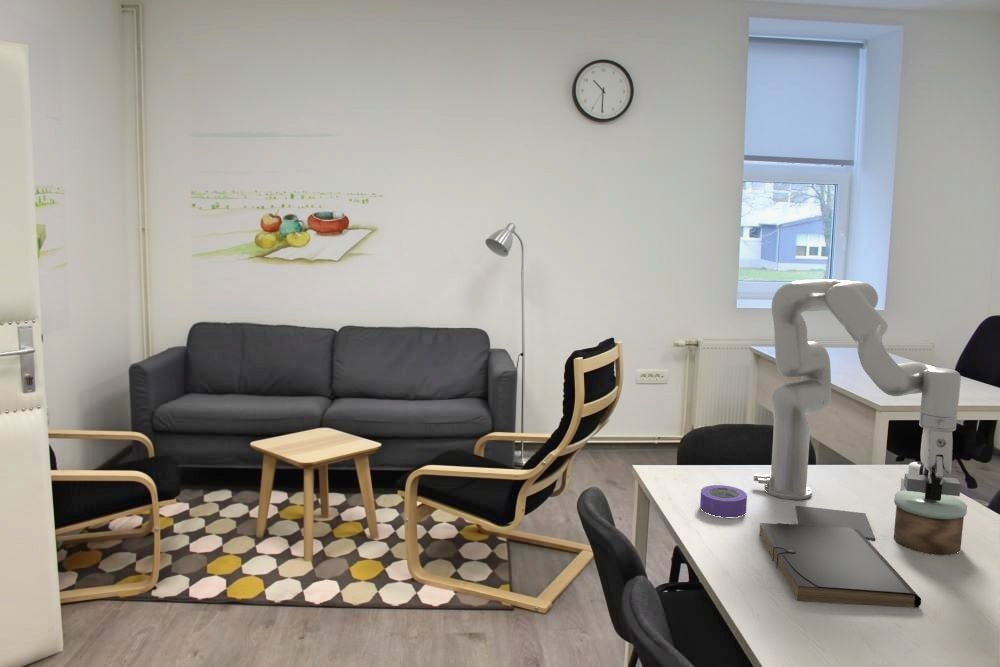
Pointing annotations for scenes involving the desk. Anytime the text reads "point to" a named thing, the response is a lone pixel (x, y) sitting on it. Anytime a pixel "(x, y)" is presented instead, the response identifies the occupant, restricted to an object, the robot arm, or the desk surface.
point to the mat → (834, 519)
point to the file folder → (835, 566)
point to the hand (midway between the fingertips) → (930, 495)
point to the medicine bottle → (913, 471)
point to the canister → (928, 533)
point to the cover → (919, 505)
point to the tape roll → (723, 501)
